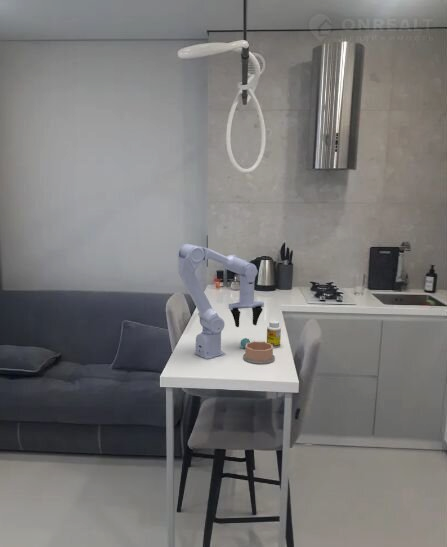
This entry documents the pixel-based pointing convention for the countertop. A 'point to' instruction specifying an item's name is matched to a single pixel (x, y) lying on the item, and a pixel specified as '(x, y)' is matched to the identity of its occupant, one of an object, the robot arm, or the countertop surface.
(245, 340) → the ball
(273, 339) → the supplement bottle
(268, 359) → the octagonal bowl
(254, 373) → the countertop surface
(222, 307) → the countertop surface
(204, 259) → the robot arm
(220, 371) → the countertop surface
